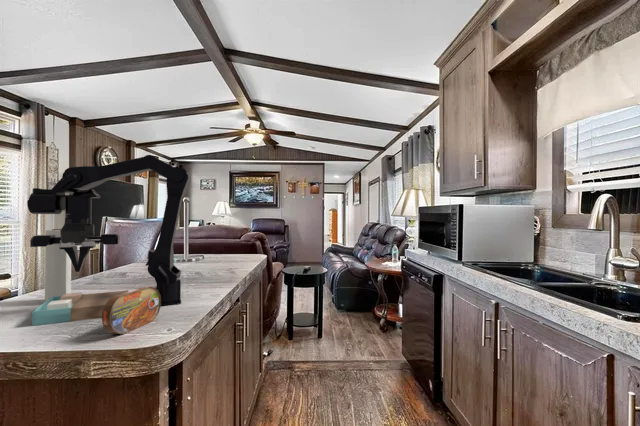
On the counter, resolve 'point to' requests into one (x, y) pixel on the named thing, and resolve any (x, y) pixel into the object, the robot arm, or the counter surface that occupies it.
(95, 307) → the walnut plate
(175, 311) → the counter surface
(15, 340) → the counter surface
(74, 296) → the terracotta block
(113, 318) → the tin
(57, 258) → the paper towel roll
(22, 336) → the counter surface
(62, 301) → the cream tile
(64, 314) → the tray
